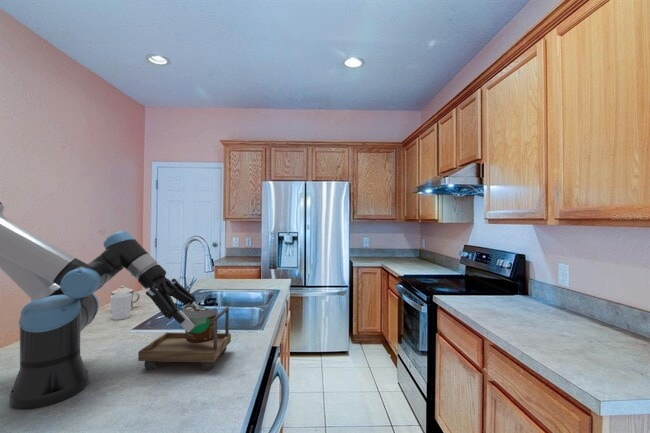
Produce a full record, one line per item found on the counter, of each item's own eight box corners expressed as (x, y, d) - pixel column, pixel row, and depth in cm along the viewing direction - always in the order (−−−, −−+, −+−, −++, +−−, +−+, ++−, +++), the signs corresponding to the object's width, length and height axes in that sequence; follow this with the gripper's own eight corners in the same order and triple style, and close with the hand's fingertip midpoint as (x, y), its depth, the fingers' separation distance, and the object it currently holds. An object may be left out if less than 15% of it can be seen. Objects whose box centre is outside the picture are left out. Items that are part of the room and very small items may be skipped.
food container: (172, 340, 96) (172, 308, 96) (188, 333, 102) (188, 302, 102) (203, 347, 91) (203, 314, 91) (218, 339, 97) (217, 307, 97)
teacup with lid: (114, 314, 144) (114, 288, 144) (108, 310, 150) (108, 285, 150) (142, 308, 152) (142, 284, 152) (136, 304, 159) (136, 282, 158)
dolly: (213, 373, 90) (213, 319, 90) (138, 372, 90) (138, 318, 90) (231, 350, 105) (231, 305, 105) (166, 349, 105) (166, 304, 105)
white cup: (124, 320, 135) (124, 297, 135) (106, 320, 135) (106, 297, 135) (135, 314, 143) (135, 292, 143) (118, 314, 143) (118, 292, 143)
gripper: (158, 274, 108) (203, 321, 108) (116, 287, 87) (172, 346, 87) (173, 259, 108) (219, 305, 108) (135, 269, 87) (191, 327, 87)
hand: (198, 323), depth 97 cm, fingers closed on food container, 8 cm apart
